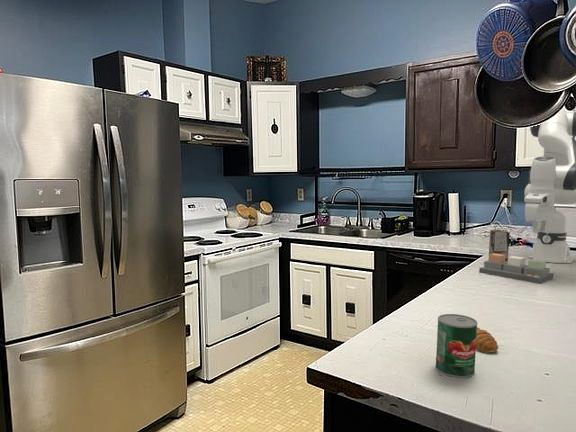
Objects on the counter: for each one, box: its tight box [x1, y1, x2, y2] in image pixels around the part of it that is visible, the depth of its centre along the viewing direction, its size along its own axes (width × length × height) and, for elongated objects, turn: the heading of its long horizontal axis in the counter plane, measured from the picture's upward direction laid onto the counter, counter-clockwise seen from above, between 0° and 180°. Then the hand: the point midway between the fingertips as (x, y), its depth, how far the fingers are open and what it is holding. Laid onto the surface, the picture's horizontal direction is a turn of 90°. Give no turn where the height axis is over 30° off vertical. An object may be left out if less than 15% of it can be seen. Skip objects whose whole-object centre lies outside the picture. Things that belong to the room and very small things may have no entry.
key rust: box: [488, 253, 505, 264], centre depth 185 cm, size 5×5×4 cm
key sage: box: [527, 258, 547, 270], centre depth 173 cm, size 5×5×4 cm
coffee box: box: [488, 229, 510, 262], centre depth 199 cm, size 9×6×16 cm
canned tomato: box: [435, 313, 478, 379], centre depth 92 cm, size 8×8×11 cm
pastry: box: [476, 326, 499, 354], centre depth 105 cm, size 9×7×4 cm
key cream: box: [508, 255, 526, 267], centre depth 179 cm, size 5×5×4 cm
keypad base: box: [478, 259, 555, 285], centre depth 180 cm, size 14×24×4 cm, turn 40°
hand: (539, 232), depth 172 cm, fingers open, 5 cm apart
